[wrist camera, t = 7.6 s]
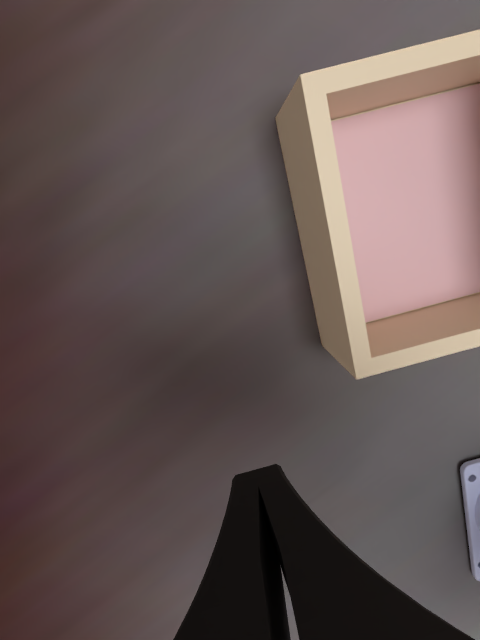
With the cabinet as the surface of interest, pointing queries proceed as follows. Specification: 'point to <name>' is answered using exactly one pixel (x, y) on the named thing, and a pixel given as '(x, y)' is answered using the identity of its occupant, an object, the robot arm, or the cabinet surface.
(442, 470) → the cabinet surface
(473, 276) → the box
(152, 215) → the cabinet surface
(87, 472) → the cabinet surface
